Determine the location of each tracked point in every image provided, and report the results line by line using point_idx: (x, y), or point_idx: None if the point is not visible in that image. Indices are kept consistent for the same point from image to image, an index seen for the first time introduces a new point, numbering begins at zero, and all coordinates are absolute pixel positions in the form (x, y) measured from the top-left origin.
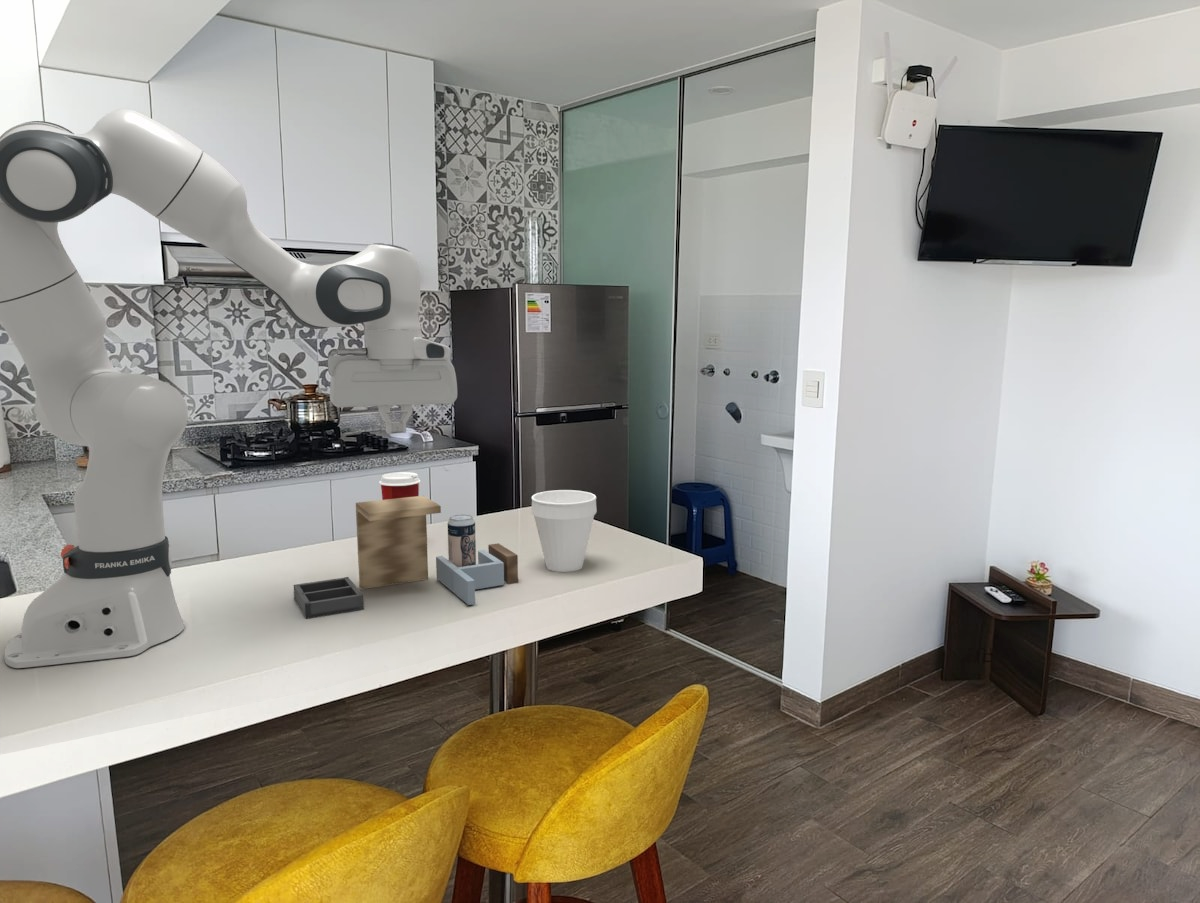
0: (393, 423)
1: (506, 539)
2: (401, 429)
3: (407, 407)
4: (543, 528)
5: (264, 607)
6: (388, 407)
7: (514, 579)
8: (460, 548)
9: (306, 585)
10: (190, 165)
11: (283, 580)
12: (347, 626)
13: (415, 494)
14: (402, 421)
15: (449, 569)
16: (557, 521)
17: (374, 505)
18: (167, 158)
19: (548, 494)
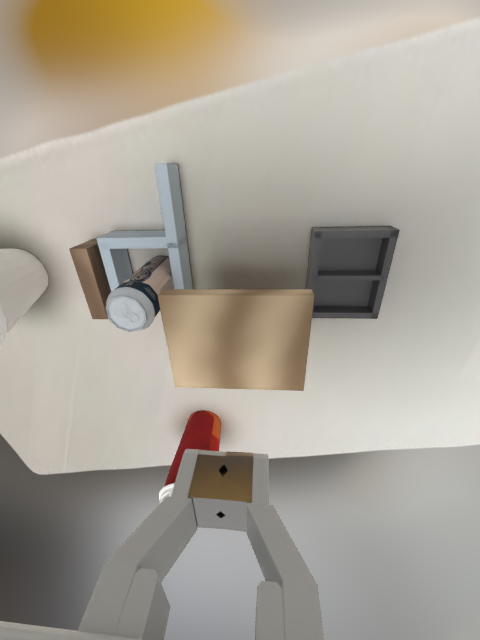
0: (240, 498)
1: (88, 397)
2: (204, 461)
3: (123, 610)
4: (2, 284)
5: (413, 295)
6: (267, 635)
7: (95, 239)
8: (151, 275)
9: (362, 312)
10: None
11: (355, 374)
12: (355, 164)
13: (173, 470)
14: (188, 504)
15: (180, 254)
16: None
17: (279, 357)
18: None
19: None
